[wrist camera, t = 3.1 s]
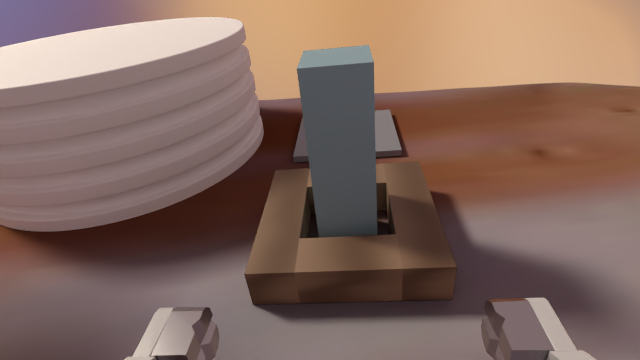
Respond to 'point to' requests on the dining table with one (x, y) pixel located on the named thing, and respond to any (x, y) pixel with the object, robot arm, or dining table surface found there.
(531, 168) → the dining table surface
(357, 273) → the holder
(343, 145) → the peg
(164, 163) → the plate stack
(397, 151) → the coaster
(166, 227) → the dining table surface
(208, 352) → the robot arm
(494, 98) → the dining table surface
